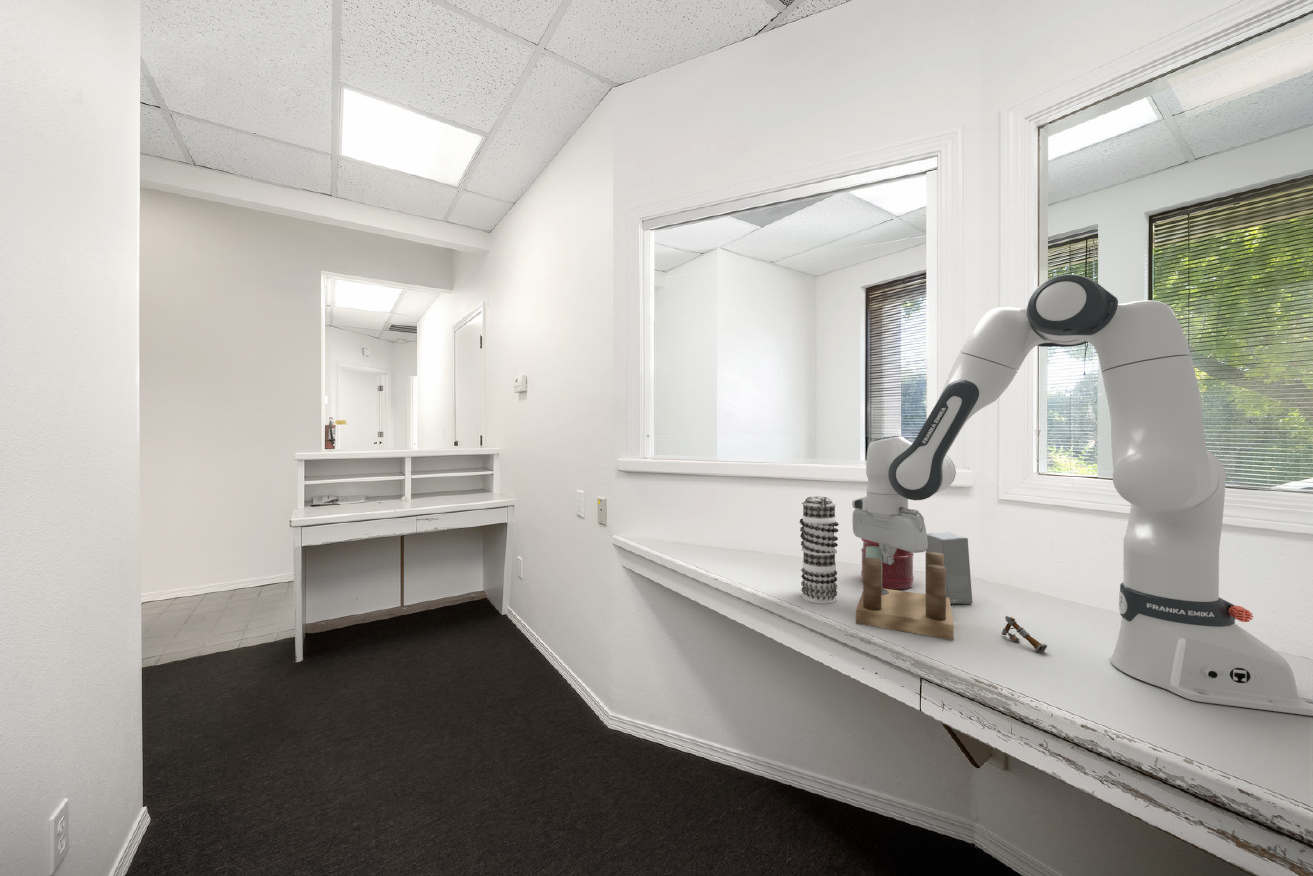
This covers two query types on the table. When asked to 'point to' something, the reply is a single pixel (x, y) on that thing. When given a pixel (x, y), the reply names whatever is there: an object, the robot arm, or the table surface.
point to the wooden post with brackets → (1023, 633)
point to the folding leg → (874, 555)
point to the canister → (894, 568)
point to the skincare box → (953, 564)
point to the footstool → (907, 602)
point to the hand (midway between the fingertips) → (888, 563)
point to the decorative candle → (819, 550)
